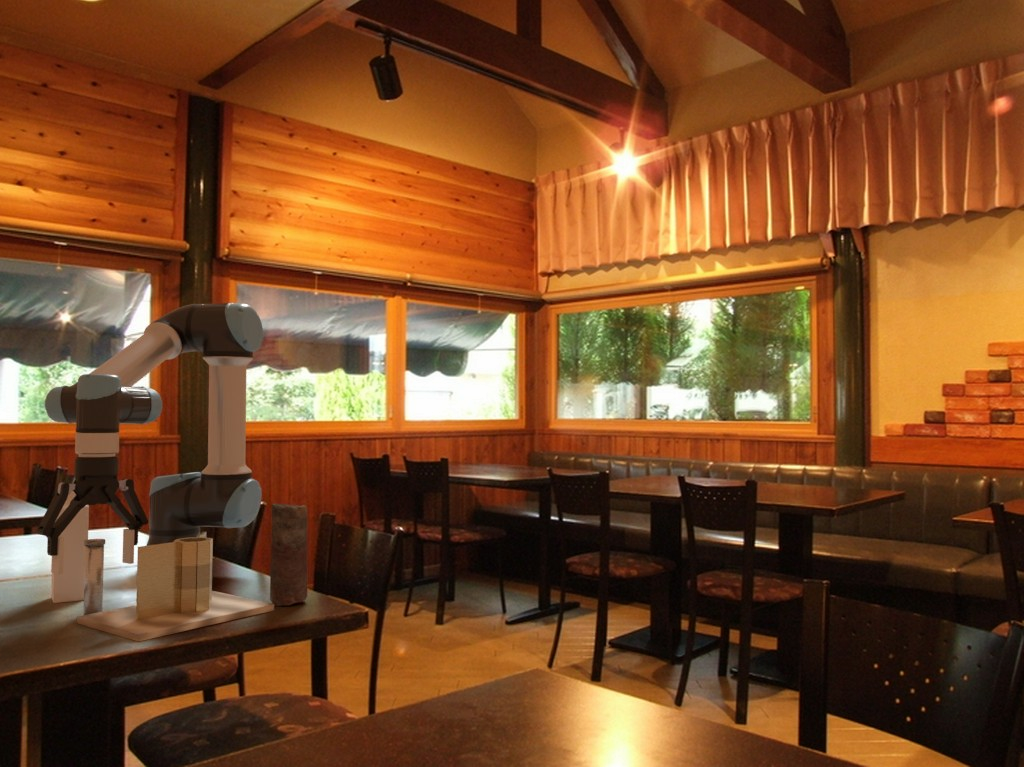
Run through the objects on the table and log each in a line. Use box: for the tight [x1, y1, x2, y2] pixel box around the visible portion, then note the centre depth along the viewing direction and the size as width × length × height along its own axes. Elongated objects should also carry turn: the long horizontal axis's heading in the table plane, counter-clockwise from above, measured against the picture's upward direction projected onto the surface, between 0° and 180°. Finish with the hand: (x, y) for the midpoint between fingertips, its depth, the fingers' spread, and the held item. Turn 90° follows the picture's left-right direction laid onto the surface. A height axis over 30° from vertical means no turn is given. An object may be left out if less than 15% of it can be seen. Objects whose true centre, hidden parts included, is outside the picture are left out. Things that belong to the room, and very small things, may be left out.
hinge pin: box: [82, 538, 106, 616], centre depth 159 cm, size 4×4×14 cm
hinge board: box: [76, 590, 275, 642], centre depth 158 cm, size 28×20×1 cm
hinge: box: [136, 531, 214, 620], centre depth 159 cm, size 19×11×13 cm, turn 144°
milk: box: [50, 490, 90, 604], centre depth 172 cm, size 6×6×22 cm
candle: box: [269, 503, 309, 607], centre depth 170 cm, size 8×7×20 cm
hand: (93, 568), depth 159 cm, fingers open, 13 cm apart
